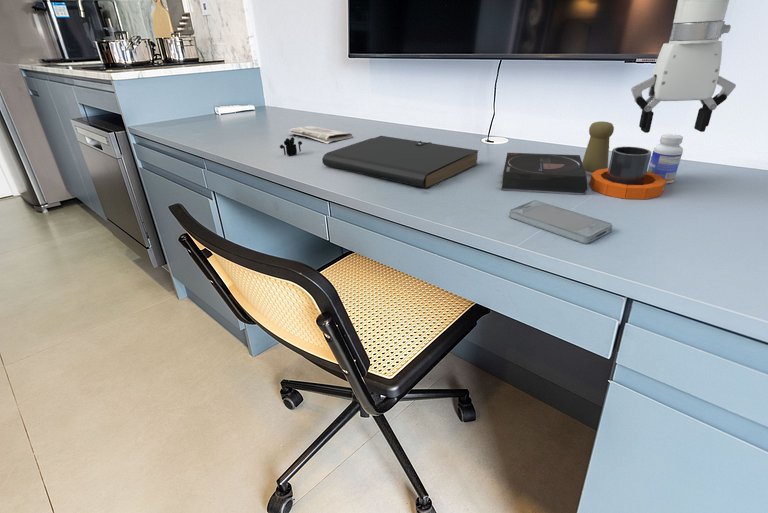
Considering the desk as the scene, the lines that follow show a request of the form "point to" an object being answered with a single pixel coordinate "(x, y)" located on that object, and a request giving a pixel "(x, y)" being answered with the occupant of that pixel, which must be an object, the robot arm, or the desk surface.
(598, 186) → the ring
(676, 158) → the pill bottle
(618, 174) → the cup
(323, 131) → the newspaper
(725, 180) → the desk surface
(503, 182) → the portable cd player
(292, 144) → the wireless earbuds
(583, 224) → the phone
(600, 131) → the olive pawn
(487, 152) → the desk surface
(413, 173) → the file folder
